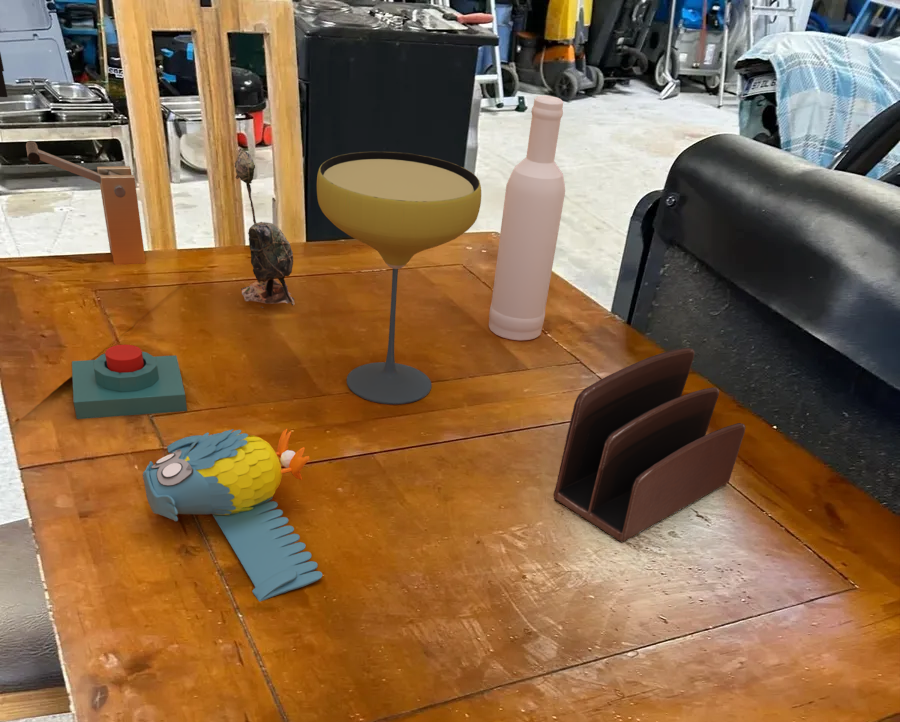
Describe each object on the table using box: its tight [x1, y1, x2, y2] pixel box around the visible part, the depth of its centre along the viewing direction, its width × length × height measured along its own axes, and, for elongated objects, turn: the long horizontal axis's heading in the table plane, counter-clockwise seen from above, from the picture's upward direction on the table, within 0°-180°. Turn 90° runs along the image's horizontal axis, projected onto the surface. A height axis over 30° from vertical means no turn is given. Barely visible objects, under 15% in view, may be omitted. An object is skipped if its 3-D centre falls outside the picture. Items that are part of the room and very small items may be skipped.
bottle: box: [488, 94, 566, 342], centre depth 119 cm, size 8×8×30 cm
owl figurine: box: [142, 428, 323, 602], centre depth 86 cm, size 28×9×15 cm
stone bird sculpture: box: [234, 150, 296, 309], centre depth 121 cm, size 8×11×20 cm
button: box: [104, 344, 144, 373], centre depth 102 cm, size 4×4×2 cm
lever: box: [25, 140, 118, 185], centre depth 121 cm, size 13×6×2 cm, turn 112°
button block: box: [71, 351, 188, 420], centre depth 103 cm, size 12×10×4 cm
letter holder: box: [553, 347, 746, 543], centre depth 95 cm, size 10×20×14 cm, turn 132°
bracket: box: [96, 165, 146, 266], centre depth 127 cm, size 12×9×14 cm
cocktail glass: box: [316, 151, 482, 405], centre depth 105 cm, size 18×18×25 cm
